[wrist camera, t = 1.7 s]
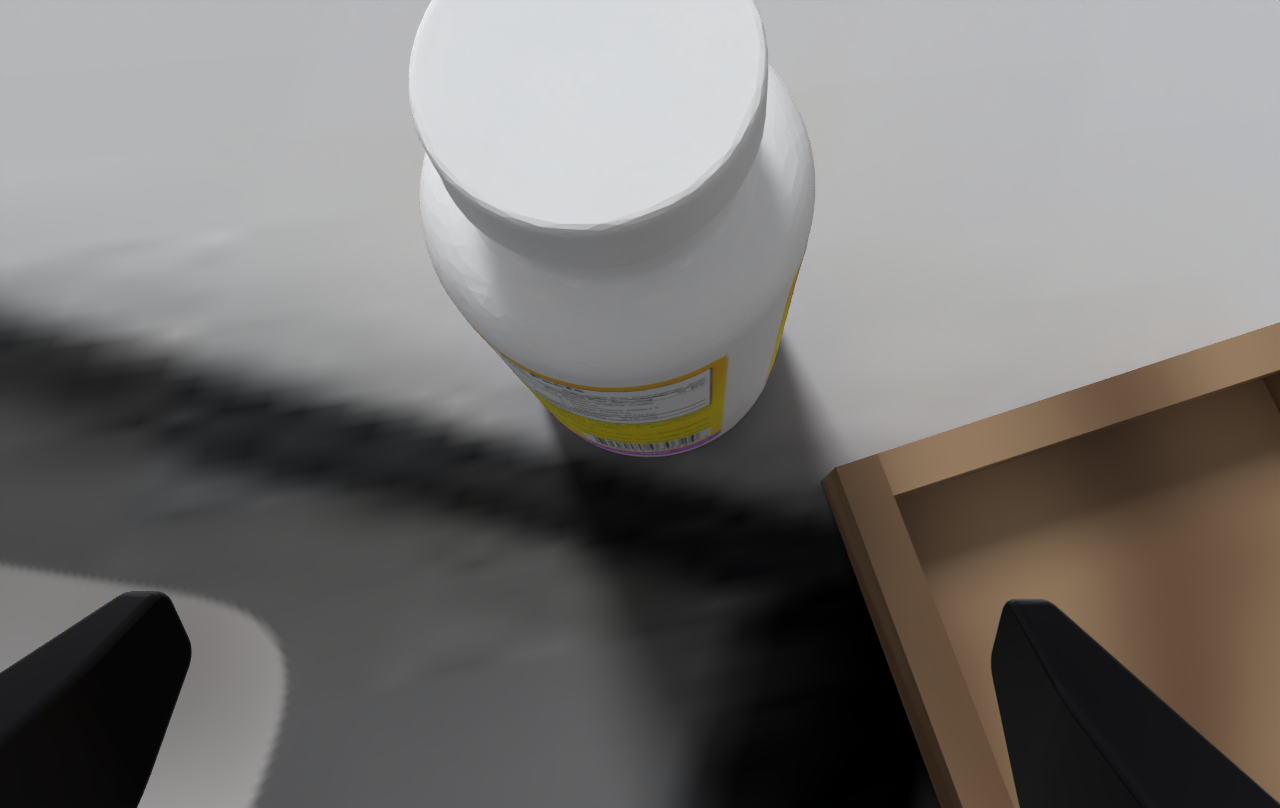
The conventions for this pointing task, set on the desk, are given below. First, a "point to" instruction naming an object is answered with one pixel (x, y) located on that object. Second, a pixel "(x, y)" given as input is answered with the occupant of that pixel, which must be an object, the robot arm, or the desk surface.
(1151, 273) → the desk surface
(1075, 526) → the walnut tray
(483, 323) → the supplement bottle
